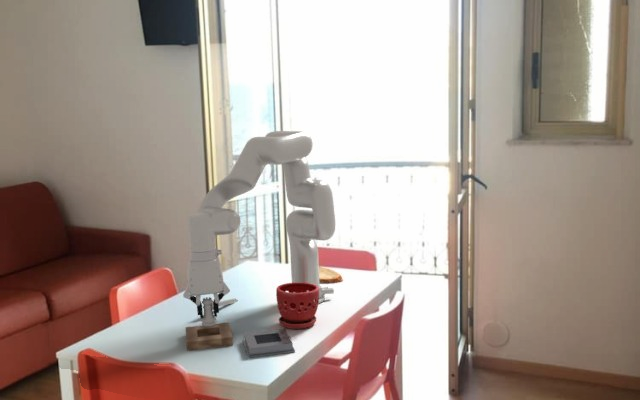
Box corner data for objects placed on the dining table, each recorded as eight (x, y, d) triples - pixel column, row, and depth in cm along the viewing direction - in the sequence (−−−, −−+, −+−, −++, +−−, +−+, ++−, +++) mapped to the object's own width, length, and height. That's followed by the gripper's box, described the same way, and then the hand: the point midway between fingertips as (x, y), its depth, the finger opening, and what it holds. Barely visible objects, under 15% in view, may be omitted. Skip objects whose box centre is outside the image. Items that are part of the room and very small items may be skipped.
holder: (286, 336, 201) (286, 328, 200) (294, 352, 188) (294, 343, 188) (242, 341, 198) (242, 333, 198) (248, 358, 185) (247, 349, 185)
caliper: (207, 320, 219) (206, 301, 218) (204, 319, 220) (203, 301, 219) (238, 301, 238) (237, 283, 237) (235, 301, 238) (234, 283, 237)
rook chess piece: (202, 322, 202) (200, 296, 201) (217, 321, 202) (215, 295, 201) (201, 327, 198) (198, 301, 196) (216, 326, 198) (214, 300, 197)
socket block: (229, 330, 208) (228, 322, 207) (233, 345, 195) (232, 336, 195) (186, 335, 205) (185, 327, 205) (187, 350, 193) (186, 342, 192)
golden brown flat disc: (343, 283, 255) (343, 274, 254) (295, 285, 255) (295, 275, 254) (342, 271, 272) (341, 262, 272) (297, 273, 272) (296, 264, 272)
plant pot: (305, 334, 202) (303, 295, 200) (269, 327, 209) (267, 289, 207) (328, 320, 213) (326, 283, 211) (293, 315, 220) (291, 279, 218)
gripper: (231, 249, 202) (235, 308, 205) (174, 255, 198) (179, 315, 201) (233, 255, 194) (238, 316, 198) (174, 261, 191) (180, 323, 194)
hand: (208, 315), depth 199 cm, fingers closed on rook chess piece, 3 cm apart
